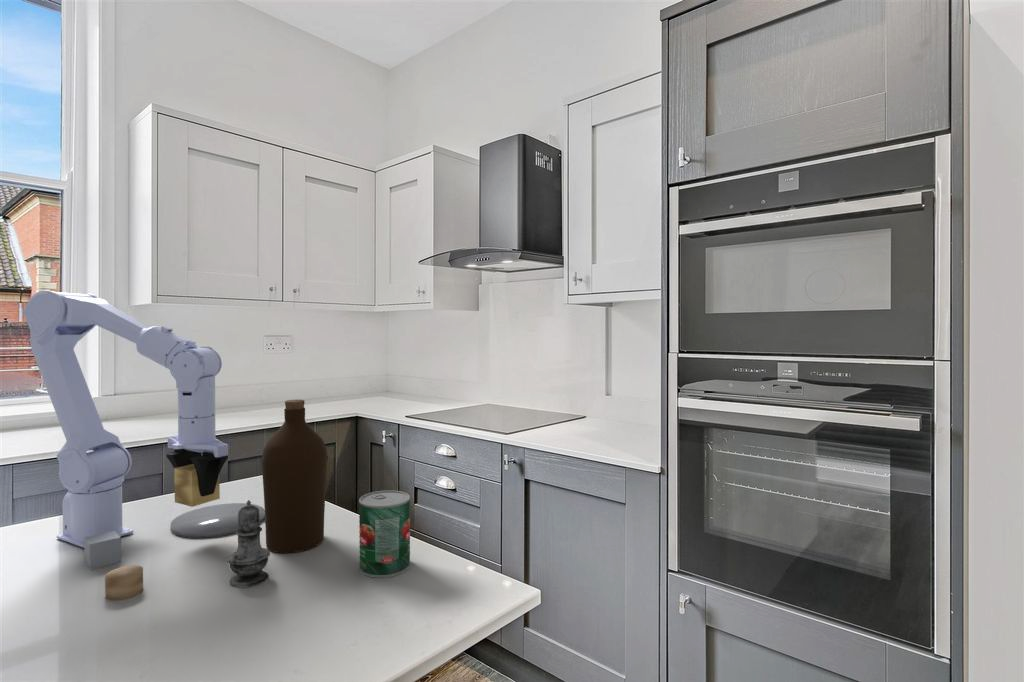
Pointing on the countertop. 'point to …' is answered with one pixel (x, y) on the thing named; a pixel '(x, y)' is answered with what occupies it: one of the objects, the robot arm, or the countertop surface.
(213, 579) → the countertop surface
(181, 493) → the ochre block
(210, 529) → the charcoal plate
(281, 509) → the olive oil
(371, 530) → the canned tomato
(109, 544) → the slate grey block
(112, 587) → the oak cylinder
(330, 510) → the countertop surface
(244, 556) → the salt shaker
